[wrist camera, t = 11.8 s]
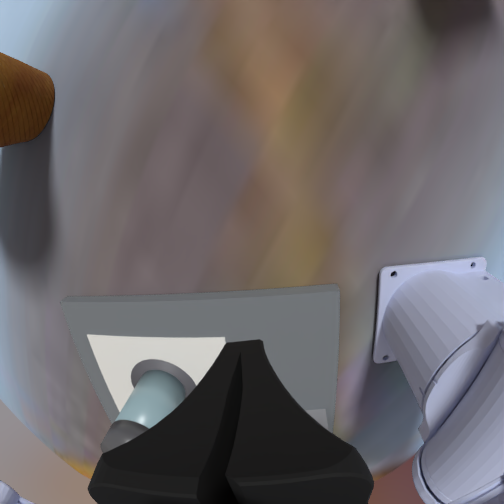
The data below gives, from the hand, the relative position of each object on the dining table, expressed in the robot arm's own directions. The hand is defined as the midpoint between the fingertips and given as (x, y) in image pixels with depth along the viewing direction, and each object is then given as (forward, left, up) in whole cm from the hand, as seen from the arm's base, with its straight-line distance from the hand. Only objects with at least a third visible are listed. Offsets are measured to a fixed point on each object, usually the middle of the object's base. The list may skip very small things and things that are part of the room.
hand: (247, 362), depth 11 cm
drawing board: (+6, +10, -10) cm, 16 cm away
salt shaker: (+9, +9, -9) cm, 16 cm away
